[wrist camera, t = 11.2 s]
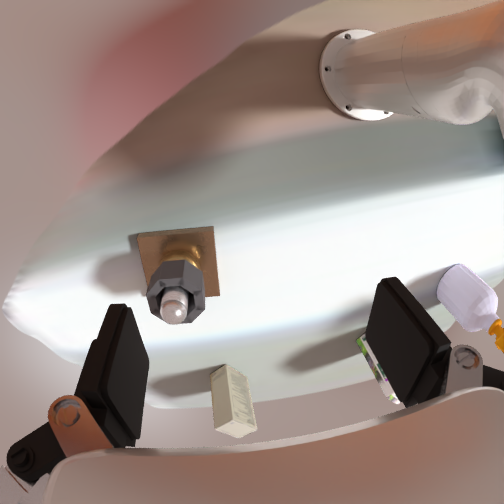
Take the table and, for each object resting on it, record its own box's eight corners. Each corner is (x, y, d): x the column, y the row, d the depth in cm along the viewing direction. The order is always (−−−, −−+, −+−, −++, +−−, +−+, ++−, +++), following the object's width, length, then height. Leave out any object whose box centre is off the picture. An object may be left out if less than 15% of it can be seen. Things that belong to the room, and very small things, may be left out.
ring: (200, 257, 36) (200, 276, 32) (206, 301, 39) (206, 321, 35) (148, 262, 35) (142, 280, 31) (158, 305, 38) (154, 325, 34)
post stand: (213, 226, 39) (215, 275, 29) (219, 289, 44) (223, 349, 33) (139, 233, 38) (115, 283, 28) (152, 294, 43) (139, 353, 33)
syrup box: (378, 320, 52) (414, 377, 39) (390, 333, 54) (424, 386, 42) (355, 339, 53) (385, 398, 41) (368, 351, 56) (398, 406, 43)
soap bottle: (444, 307, 54) (510, 388, 32) (429, 289, 50) (504, 379, 29) (472, 276, 51) (544, 350, 30) (459, 255, 48) (543, 334, 26)
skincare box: (209, 373, 53) (212, 429, 42) (226, 362, 52) (232, 419, 41) (232, 387, 55) (238, 439, 45) (249, 377, 54) (258, 430, 44)
